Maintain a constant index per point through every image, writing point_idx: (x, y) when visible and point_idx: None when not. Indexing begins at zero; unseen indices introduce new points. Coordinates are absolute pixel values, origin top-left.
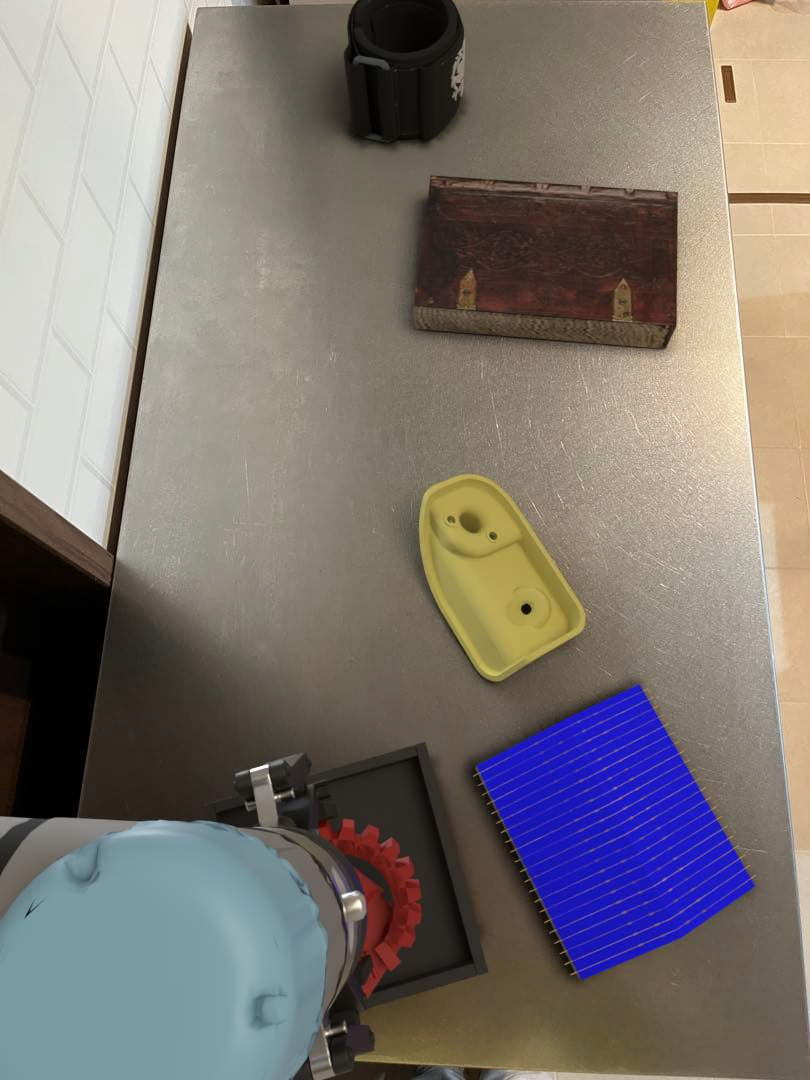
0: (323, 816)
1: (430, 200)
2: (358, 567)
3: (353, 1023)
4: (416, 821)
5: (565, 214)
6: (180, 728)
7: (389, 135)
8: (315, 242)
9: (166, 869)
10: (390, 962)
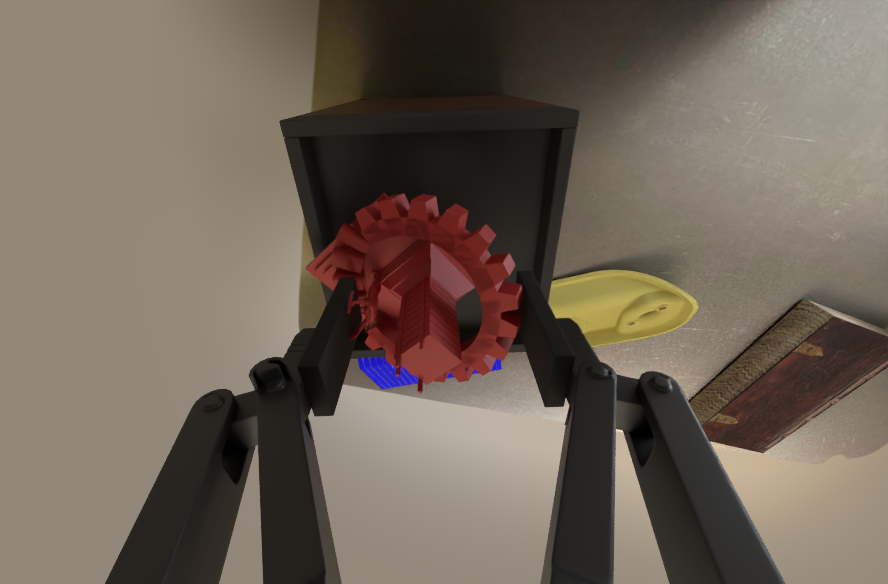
0: (541, 391)
1: None
2: (658, 219)
3: (254, 442)
4: (473, 316)
5: (804, 407)
6: (610, 14)
7: None
8: None
9: None
10: None
